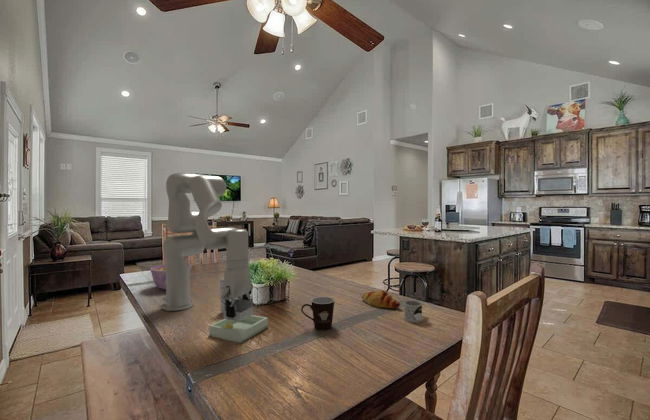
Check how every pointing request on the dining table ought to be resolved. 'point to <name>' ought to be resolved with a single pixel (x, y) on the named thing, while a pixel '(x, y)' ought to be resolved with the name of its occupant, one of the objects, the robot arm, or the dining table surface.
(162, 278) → the bowl of food
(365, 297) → the croissant
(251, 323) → the tray
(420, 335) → the dining table surface
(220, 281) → the syrup box
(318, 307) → the coffee mug
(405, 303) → the mug
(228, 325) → the ball
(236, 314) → the open shelf cabinet
